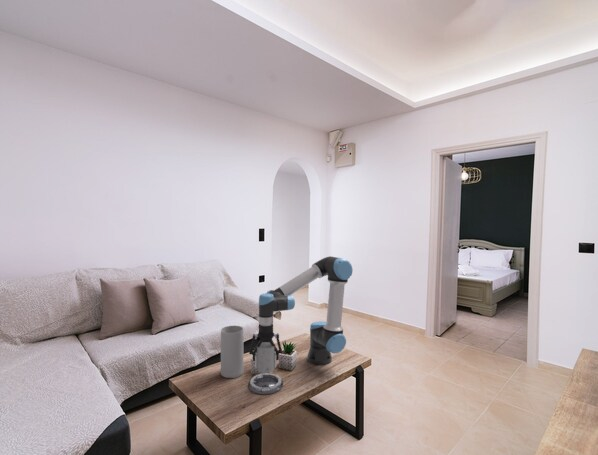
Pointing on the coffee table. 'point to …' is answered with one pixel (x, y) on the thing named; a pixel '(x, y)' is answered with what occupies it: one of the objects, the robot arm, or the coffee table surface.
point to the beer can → (265, 358)
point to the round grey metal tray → (265, 384)
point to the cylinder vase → (231, 351)
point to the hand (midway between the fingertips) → (265, 366)
